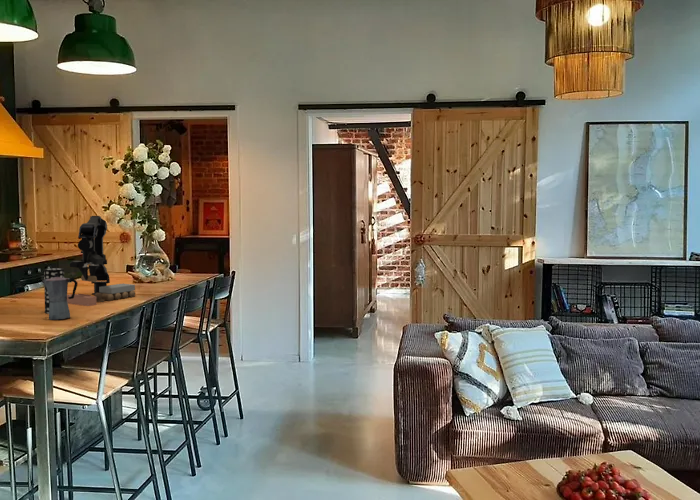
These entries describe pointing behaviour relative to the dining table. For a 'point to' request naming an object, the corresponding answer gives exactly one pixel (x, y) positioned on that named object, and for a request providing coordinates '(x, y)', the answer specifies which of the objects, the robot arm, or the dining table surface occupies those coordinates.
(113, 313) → the dining table surface
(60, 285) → the moka pot
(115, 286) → the slab
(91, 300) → the stop beam
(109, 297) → the roller bed
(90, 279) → the roller
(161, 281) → the dining table surface
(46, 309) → the white-spotted black cylinder
